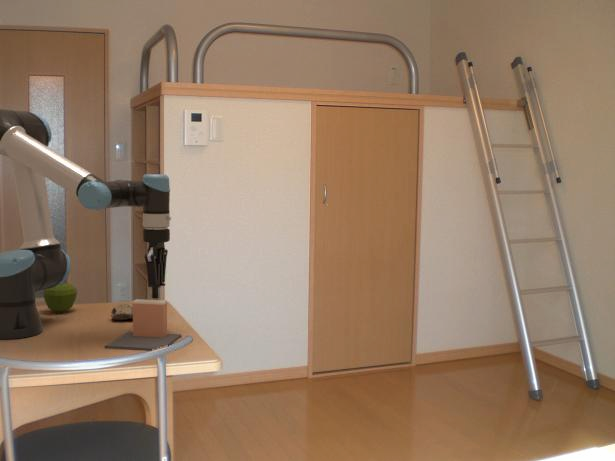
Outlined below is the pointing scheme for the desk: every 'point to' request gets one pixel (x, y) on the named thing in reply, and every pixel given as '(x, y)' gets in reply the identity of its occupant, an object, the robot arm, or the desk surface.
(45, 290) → the apple
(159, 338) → the mat
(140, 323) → the slab
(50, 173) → the robot arm
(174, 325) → the desk surface
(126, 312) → the rock
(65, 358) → the desk surface
